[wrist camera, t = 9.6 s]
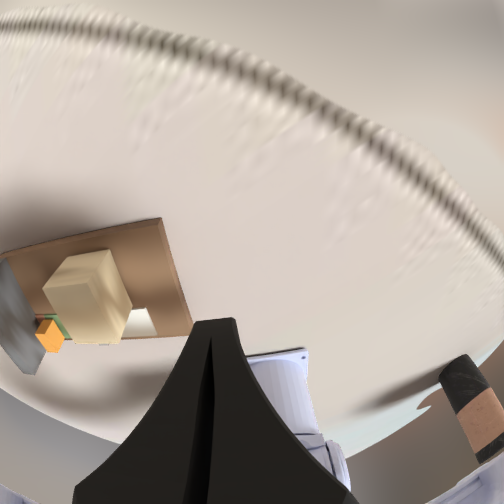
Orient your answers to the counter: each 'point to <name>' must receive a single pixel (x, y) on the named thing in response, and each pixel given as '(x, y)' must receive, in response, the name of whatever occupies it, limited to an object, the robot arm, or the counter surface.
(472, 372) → the travel mug
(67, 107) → the counter surface
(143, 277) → the base
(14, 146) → the counter surface
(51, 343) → the block
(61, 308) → the tan rectangular block
